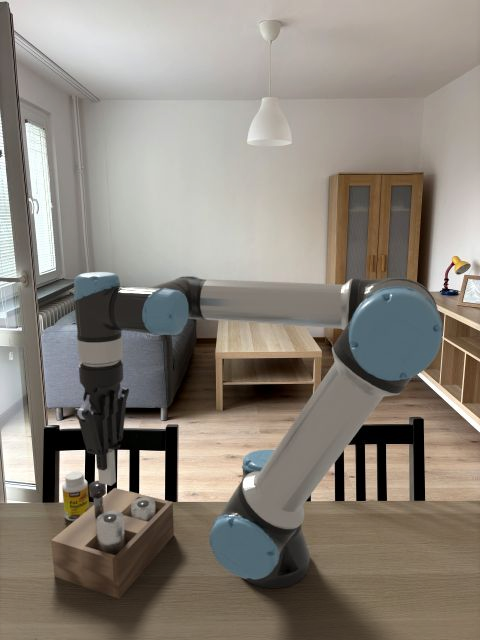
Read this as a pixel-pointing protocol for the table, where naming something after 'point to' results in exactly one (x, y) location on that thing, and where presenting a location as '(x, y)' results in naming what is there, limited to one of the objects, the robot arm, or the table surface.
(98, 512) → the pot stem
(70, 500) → the supplement bottle
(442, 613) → the table surface
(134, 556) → the wooden box
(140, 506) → the knob far
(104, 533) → the knob near
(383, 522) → the table surface
